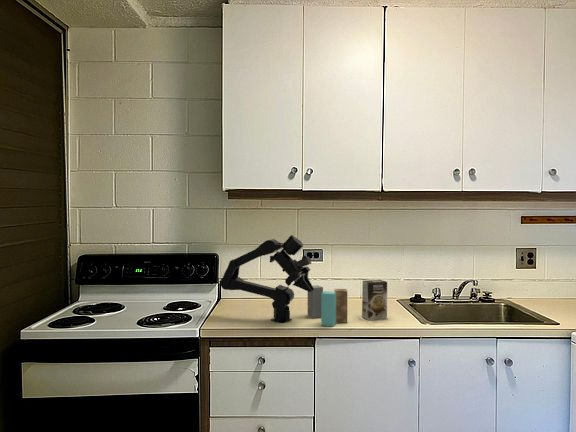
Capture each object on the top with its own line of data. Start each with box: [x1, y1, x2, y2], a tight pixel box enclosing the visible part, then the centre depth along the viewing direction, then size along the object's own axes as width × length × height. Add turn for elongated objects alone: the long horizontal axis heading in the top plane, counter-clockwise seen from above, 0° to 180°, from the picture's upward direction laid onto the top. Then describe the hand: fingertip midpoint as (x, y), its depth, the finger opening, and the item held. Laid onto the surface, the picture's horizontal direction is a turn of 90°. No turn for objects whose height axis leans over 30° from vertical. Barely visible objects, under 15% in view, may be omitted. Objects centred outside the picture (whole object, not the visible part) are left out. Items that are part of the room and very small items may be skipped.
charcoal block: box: [307, 284, 324, 319], centre depth 194 cm, size 5×5×13 cm
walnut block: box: [334, 288, 348, 323], centre depth 186 cm, size 5×5×13 cm
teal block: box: [320, 290, 337, 327], centre depth 181 cm, size 5×5×13 cm
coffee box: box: [361, 279, 388, 321], centre depth 191 cm, size 9×6×16 cm
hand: (312, 290), depth 183 cm, fingers open, 3 cm apart
